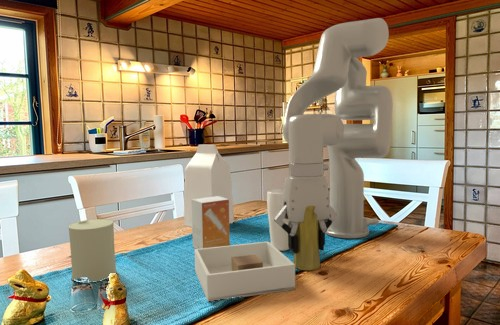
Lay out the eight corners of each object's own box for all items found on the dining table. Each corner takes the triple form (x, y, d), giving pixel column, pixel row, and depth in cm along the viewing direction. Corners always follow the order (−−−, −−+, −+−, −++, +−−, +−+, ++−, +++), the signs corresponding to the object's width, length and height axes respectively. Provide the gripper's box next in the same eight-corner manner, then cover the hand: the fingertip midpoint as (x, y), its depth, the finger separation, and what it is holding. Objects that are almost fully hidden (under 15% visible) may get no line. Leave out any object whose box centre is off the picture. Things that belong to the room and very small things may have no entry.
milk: (183, 225, 129) (180, 145, 126) (205, 218, 139) (203, 143, 136) (213, 230, 122) (211, 145, 120) (234, 222, 132) (232, 143, 130)
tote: (268, 262, 93) (268, 241, 93) (295, 289, 78) (295, 264, 77) (195, 271, 88) (194, 249, 88) (207, 301, 73) (207, 275, 72)
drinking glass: (297, 246, 105) (296, 189, 104) (288, 253, 99) (288, 194, 98) (273, 243, 108) (272, 188, 106) (263, 250, 102) (262, 192, 100)
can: (97, 265, 94) (94, 215, 92) (125, 272, 89) (122, 219, 88) (62, 278, 86) (58, 224, 85) (90, 286, 81) (87, 229, 80)
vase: (313, 272, 86) (313, 207, 85) (288, 267, 89) (287, 205, 88) (324, 264, 91) (324, 202, 90) (299, 259, 94) (299, 200, 93)
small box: (203, 253, 101) (201, 202, 99) (192, 247, 106) (190, 199, 105) (230, 247, 105) (229, 198, 104) (219, 241, 110) (217, 195, 109)
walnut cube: (255, 278, 82) (255, 254, 82) (263, 287, 77) (262, 262, 77) (232, 281, 81) (231, 257, 80) (238, 290, 76) (237, 265, 76)
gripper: (333, 167, 94) (333, 241, 96) (263, 170, 89) (265, 249, 91) (349, 170, 87) (349, 251, 89) (275, 174, 82) (276, 259, 84)
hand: (306, 249), depth 90 cm, fingers closed on vase, 5 cm apart
